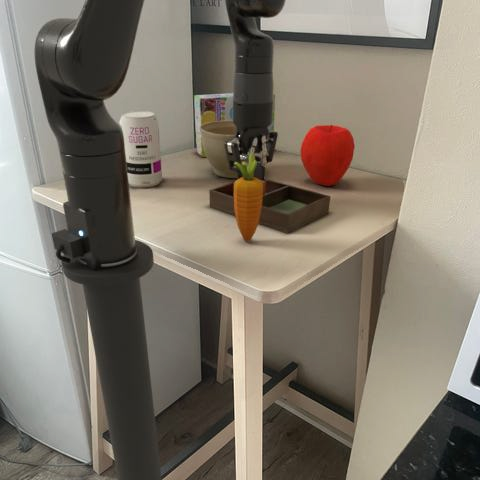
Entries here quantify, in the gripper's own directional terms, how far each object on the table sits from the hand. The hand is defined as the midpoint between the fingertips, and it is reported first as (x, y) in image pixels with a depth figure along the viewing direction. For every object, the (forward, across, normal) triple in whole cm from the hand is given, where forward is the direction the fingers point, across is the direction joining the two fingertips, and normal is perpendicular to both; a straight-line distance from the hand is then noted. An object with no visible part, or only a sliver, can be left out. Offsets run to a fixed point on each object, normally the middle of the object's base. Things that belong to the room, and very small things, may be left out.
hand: (250, 187), depth 102 cm
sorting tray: (+4, 0, +5) cm, 6 cm away
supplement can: (+4, +6, -27) cm, 28 cm away
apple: (+4, -22, +4) cm, 23 cm away
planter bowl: (+4, -14, -17) cm, 22 cm away
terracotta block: (+3, 0, 0) cm, 3 cm away
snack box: (+4, -29, -30) cm, 42 cm away
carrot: (+4, +15, +12) cm, 20 cm away
